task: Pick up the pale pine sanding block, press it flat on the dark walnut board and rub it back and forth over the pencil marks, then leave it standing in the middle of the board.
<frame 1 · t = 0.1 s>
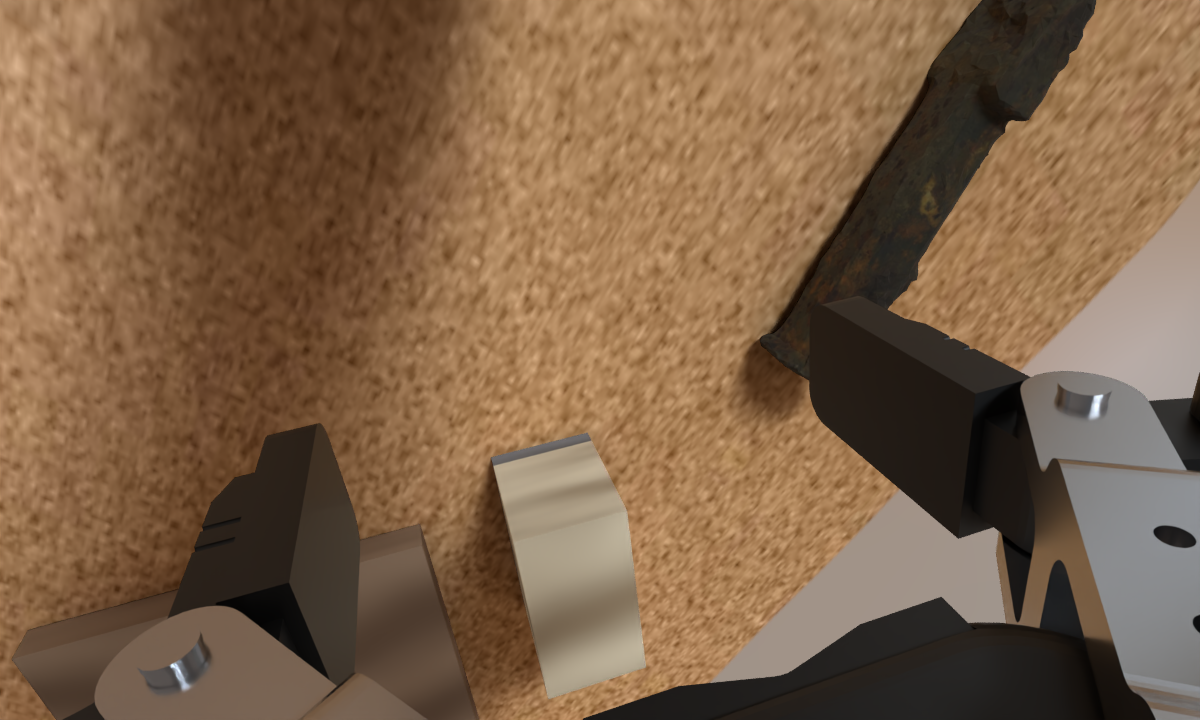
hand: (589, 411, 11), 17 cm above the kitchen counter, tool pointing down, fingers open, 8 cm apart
hand tool: (876, 167, 31), on the kitchen counter
sanding block: (553, 520, 34), on the kitchen counter
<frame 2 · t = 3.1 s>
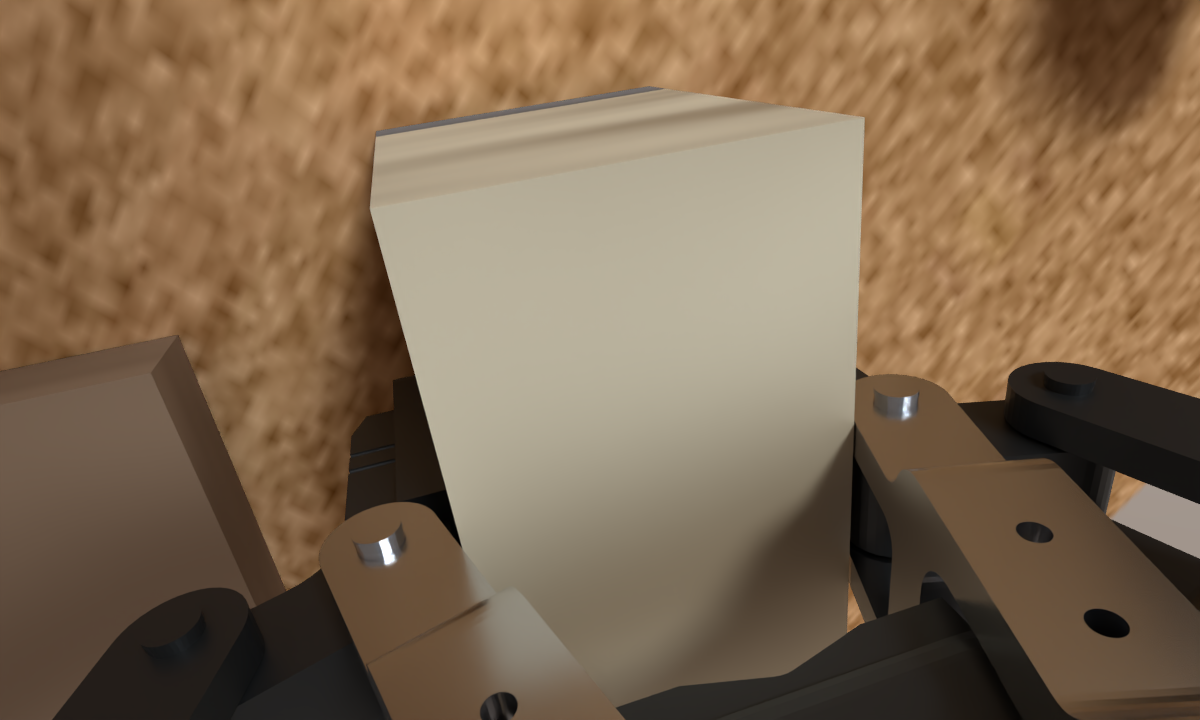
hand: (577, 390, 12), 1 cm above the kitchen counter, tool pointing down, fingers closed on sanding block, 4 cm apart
sanding block: (560, 357, 13), on the kitchen counter, touching gripper
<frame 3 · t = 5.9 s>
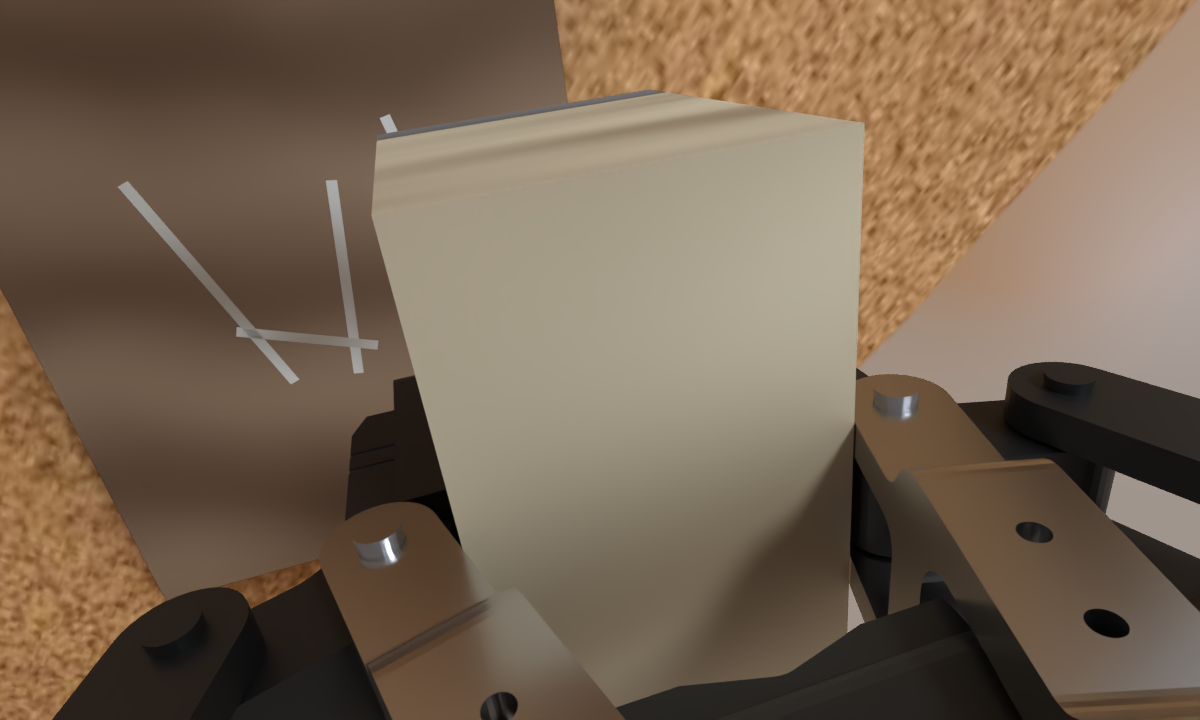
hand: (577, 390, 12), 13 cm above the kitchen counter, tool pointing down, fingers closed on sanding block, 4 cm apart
walnut board: (327, 256, 22), on the kitchen counter
sanding block: (560, 359, 13), point 11 cm above the kitchen counter, touching gripper
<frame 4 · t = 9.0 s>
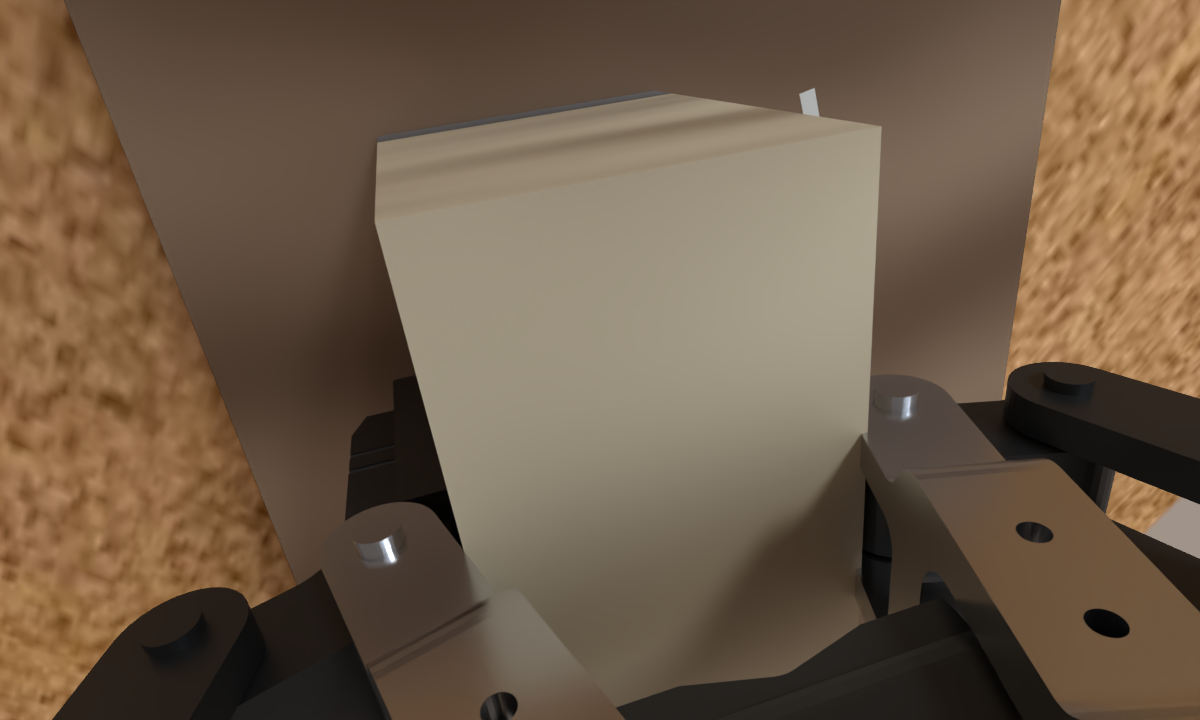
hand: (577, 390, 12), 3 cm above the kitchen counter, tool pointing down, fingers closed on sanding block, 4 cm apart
walnut board: (649, 303, 15), on the kitchen counter
sanding block: (563, 364, 13), point 2 cm above the kitchen counter, touching gripper
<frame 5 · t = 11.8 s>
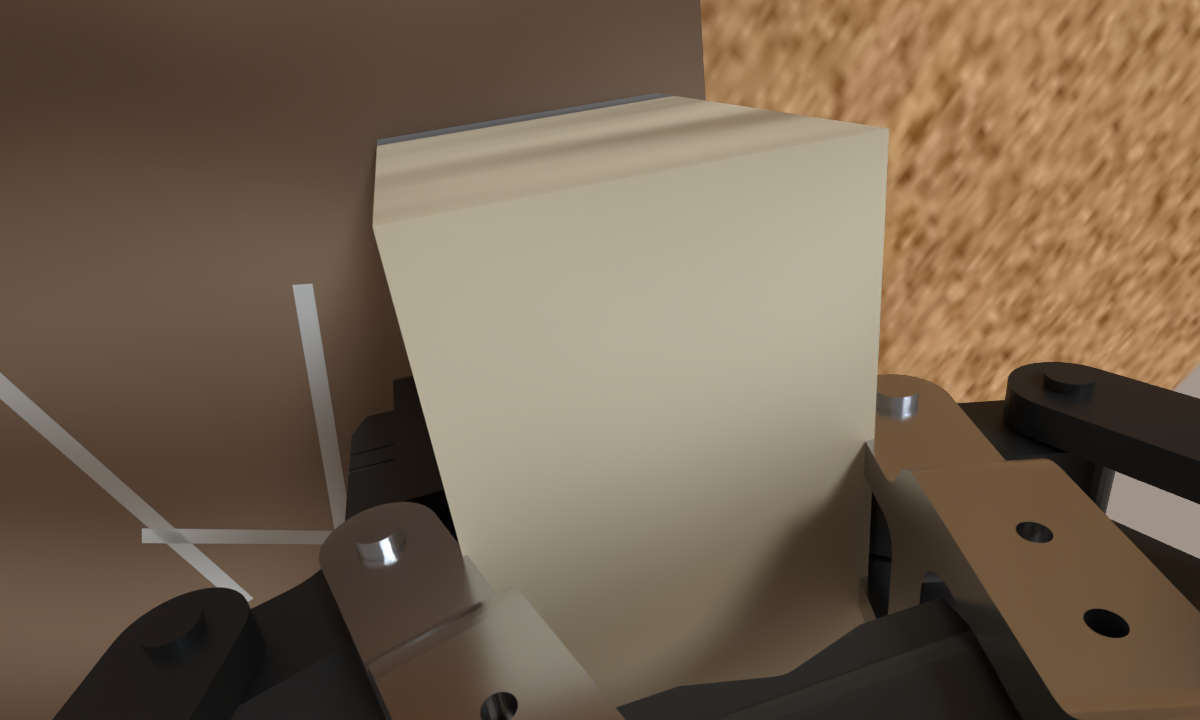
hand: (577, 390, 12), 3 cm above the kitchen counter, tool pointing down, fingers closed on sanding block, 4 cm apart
walnut board: (300, 392, 13), on the kitchen counter
sanding block: (565, 369, 13), point 2 cm above the kitchen counter, touching gripper
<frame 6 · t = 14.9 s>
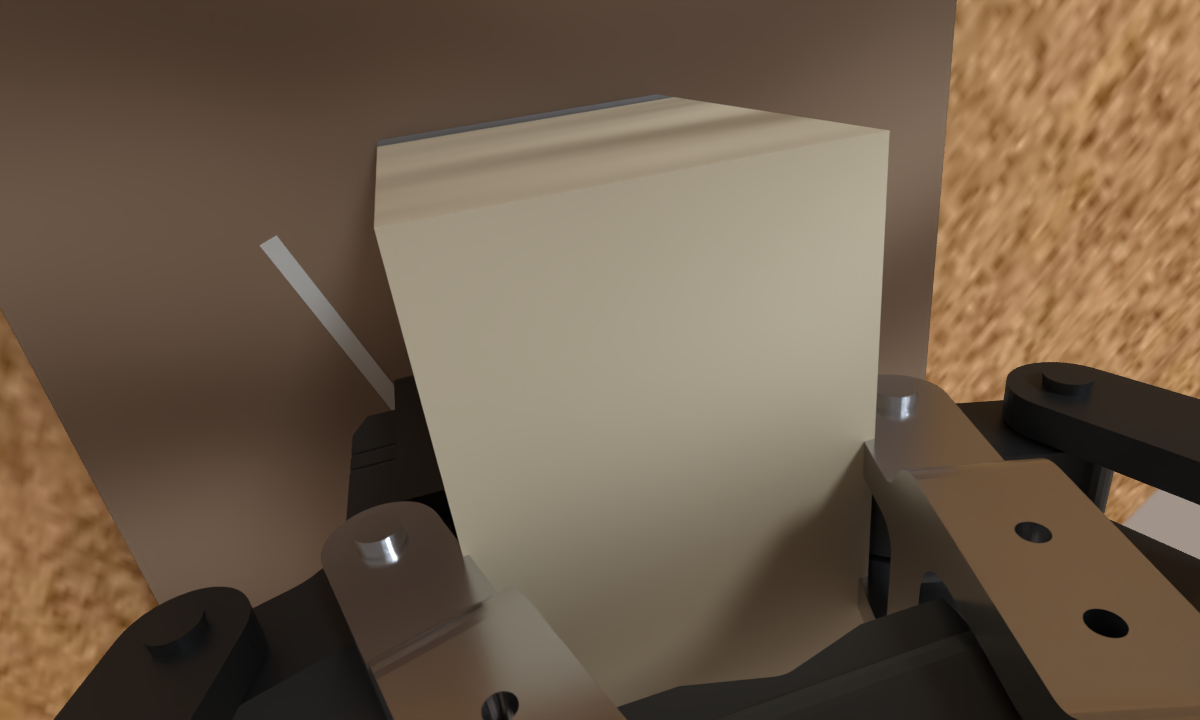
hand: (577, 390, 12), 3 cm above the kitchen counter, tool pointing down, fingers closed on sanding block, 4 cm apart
walnut board: (545, 338, 14), on the kitchen counter
sanding block: (564, 370, 13), point 2 cm above the kitchen counter, touching gripper
when the fingers open (3 cm above the kitchen counter, at t = 14.9 s): sanding block stays where it is, resting on walnut board.
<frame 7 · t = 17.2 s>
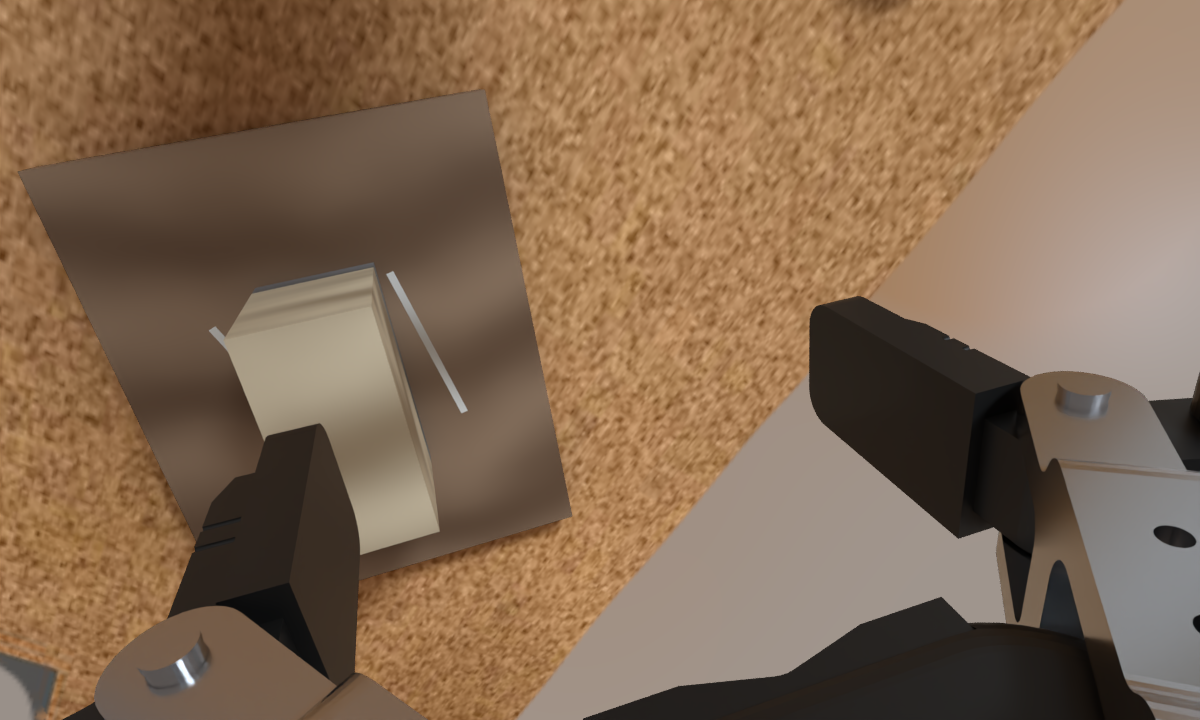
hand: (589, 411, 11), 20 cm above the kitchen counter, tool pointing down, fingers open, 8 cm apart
walnut board: (349, 363, 31), on the kitchen counter
sanding block: (349, 377, 29), point 2 cm above the kitchen counter, touching walnut board
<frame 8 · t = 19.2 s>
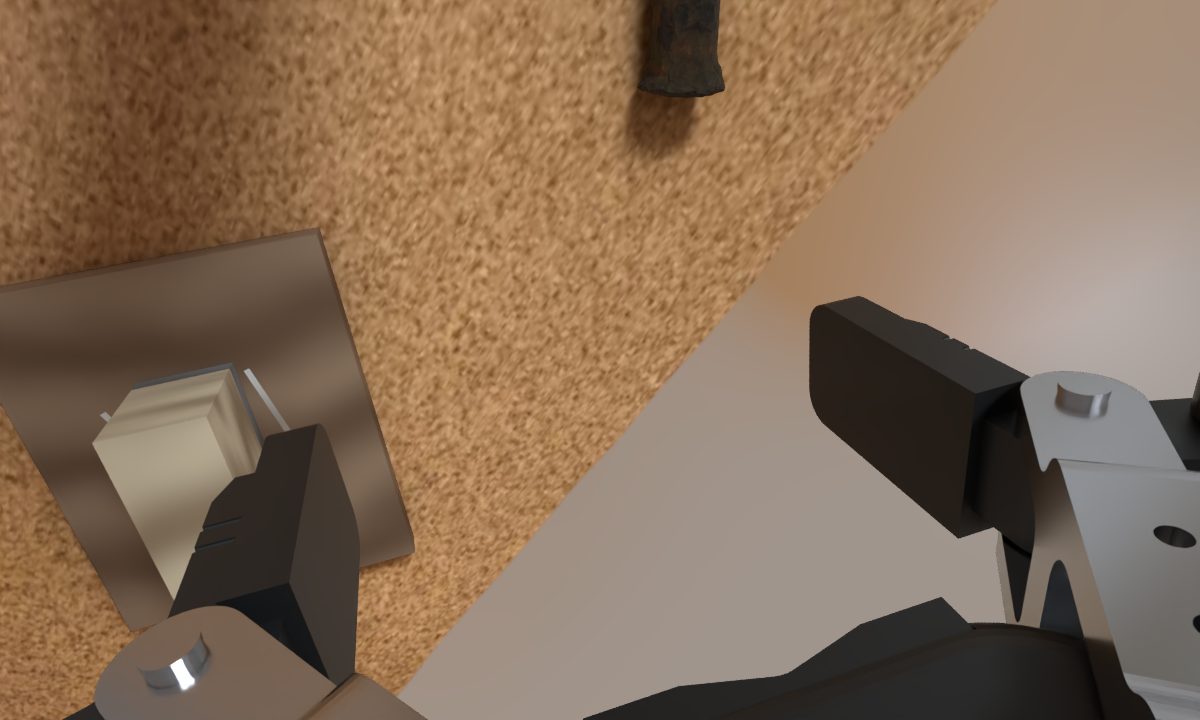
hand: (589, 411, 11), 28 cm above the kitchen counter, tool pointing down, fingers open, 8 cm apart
walnut board: (222, 434, 38), on the kitchen counter
sanding block: (217, 448, 37), point 2 cm above the kitchen counter, touching walnut board
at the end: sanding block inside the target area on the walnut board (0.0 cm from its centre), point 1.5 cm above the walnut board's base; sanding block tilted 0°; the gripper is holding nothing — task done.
